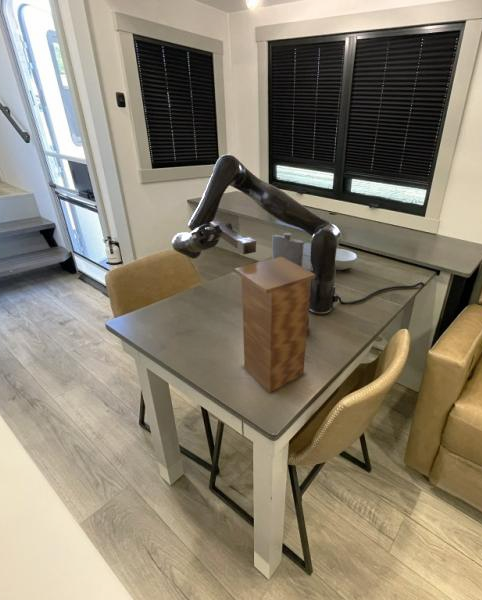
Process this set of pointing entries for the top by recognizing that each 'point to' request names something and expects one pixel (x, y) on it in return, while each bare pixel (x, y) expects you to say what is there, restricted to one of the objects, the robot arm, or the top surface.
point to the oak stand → (275, 319)
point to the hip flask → (288, 248)
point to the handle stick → (235, 239)
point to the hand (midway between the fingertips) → (224, 227)
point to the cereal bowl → (344, 259)
